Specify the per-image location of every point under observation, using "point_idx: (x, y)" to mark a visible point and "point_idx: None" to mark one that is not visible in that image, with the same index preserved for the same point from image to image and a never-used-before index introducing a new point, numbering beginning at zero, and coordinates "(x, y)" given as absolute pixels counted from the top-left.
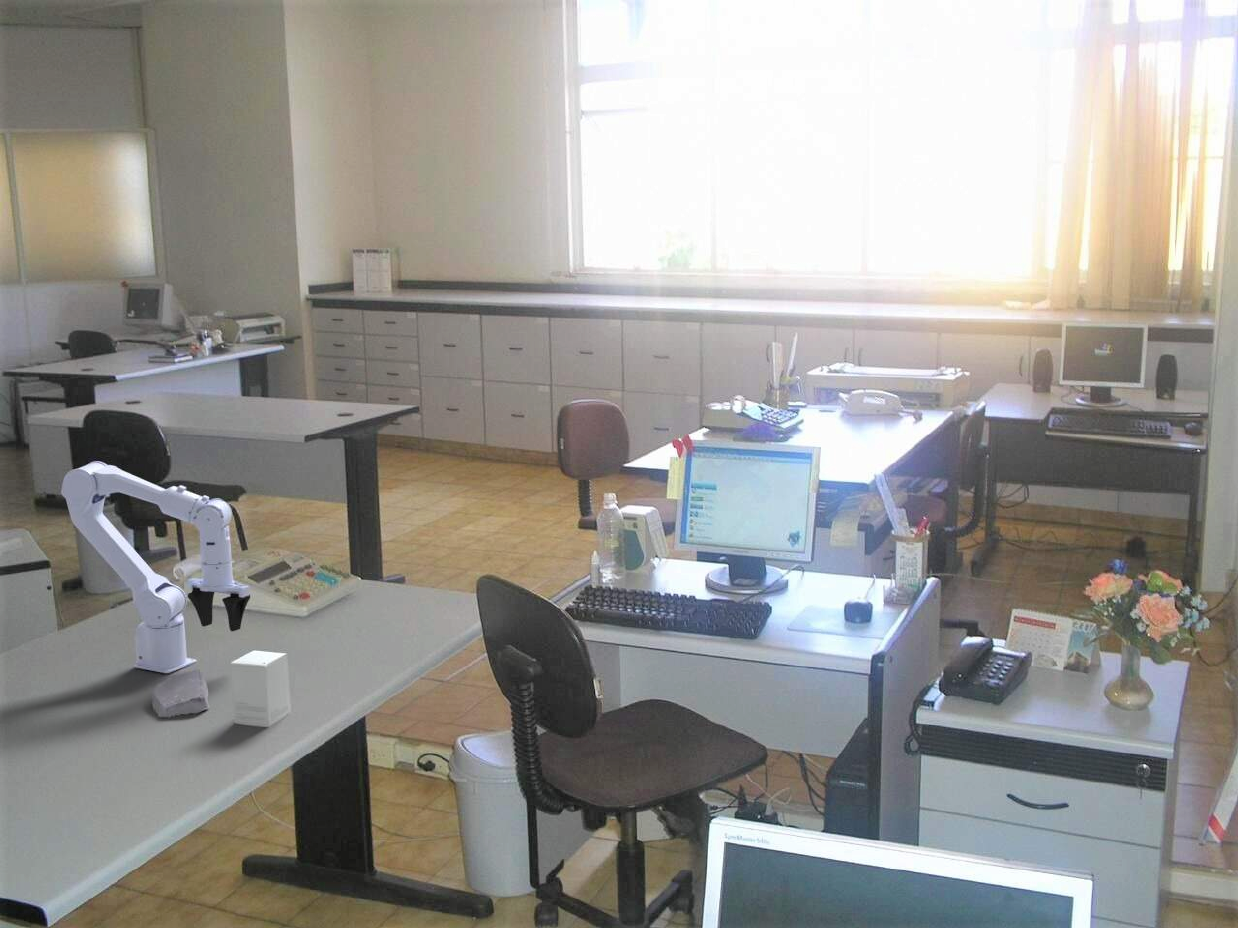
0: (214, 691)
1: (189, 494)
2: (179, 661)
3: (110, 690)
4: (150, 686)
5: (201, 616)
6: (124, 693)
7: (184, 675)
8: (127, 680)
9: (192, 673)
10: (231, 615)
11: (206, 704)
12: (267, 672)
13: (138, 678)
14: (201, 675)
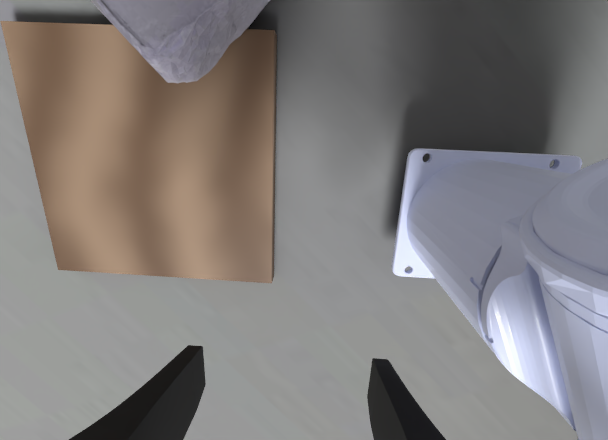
0: None
1: None
2: (413, 215)
3: (553, 19)
4: (441, 109)
5: (390, 398)
6: (484, 16)
7: (193, 2)
8: (553, 124)
9: (163, 20)
10: (114, 409)
11: None
12: None
13: None
14: (110, 17)
